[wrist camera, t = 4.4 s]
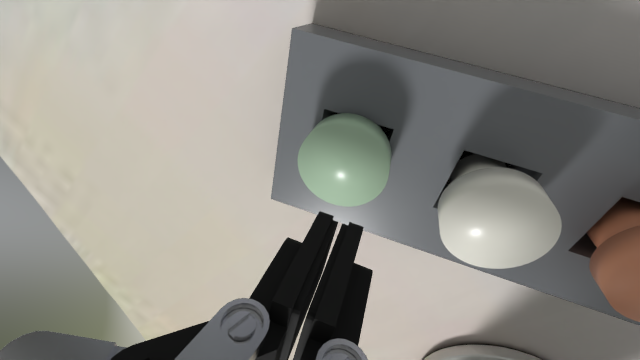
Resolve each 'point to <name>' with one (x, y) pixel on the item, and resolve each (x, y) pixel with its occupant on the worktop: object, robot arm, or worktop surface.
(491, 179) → the ivory button
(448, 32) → the worktop surface
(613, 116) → the button panel
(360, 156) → the sage button
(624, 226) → the terracotta button
